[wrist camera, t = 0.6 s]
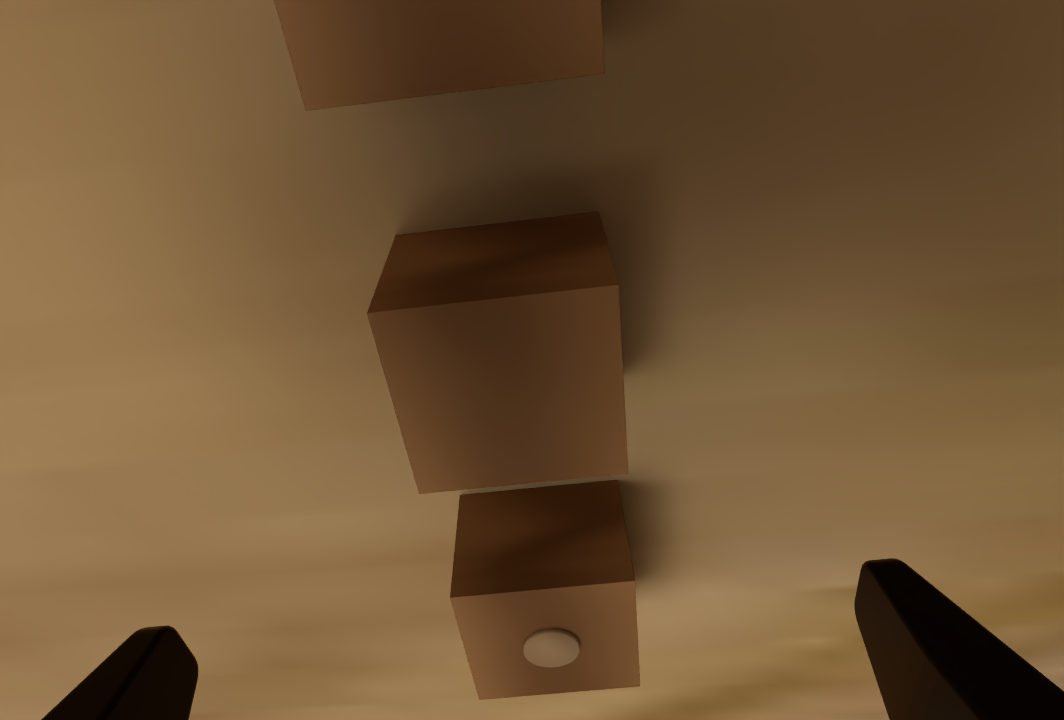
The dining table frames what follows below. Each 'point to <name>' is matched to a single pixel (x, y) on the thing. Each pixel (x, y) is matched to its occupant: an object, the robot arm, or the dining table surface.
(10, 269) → the dining table surface
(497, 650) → the one dot block
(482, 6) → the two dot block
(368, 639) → the dining table surface
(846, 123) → the dining table surface
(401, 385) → the plain block
